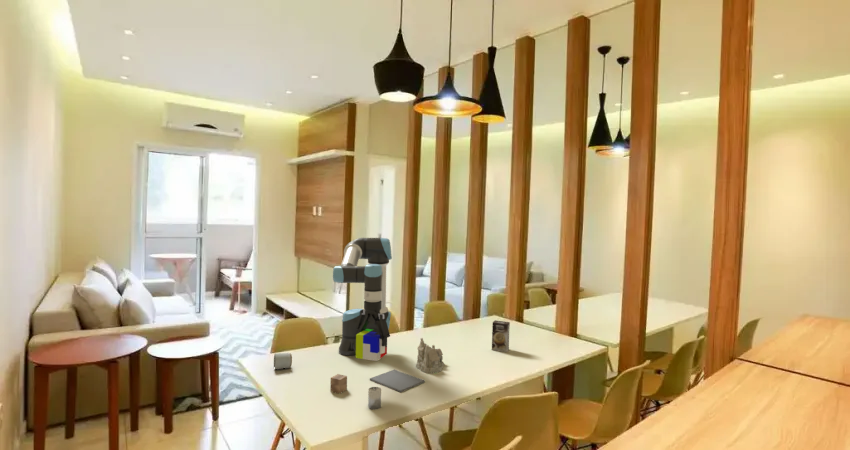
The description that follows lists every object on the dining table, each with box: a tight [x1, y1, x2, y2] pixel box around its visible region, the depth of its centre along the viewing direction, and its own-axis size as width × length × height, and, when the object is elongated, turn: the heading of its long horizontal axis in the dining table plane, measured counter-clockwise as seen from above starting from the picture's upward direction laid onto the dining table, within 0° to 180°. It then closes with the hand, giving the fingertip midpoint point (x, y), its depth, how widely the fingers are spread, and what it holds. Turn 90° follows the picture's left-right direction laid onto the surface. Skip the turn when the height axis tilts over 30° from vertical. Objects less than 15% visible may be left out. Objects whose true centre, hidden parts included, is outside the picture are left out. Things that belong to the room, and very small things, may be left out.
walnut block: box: [330, 373, 348, 394], centre depth 184 cm, size 5×5×6 cm
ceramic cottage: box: [415, 337, 445, 374], centre depth 215 cm, size 16×16×15 cm
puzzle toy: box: [355, 329, 388, 362], centre depth 183 cm, size 10×10×10 cm
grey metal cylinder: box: [367, 386, 382, 411], centre depth 169 cm, size 5×5×7 cm
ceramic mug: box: [273, 352, 293, 370], centre depth 210 cm, size 11×8×8 cm
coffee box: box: [491, 320, 511, 353], centre depth 245 cm, size 9×6×16 cm
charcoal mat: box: [369, 369, 426, 393], centre depth 195 cm, size 20×16×1 cm
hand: (371, 349), depth 183 cm, fingers closed on puzzle toy, 12 cm apart
